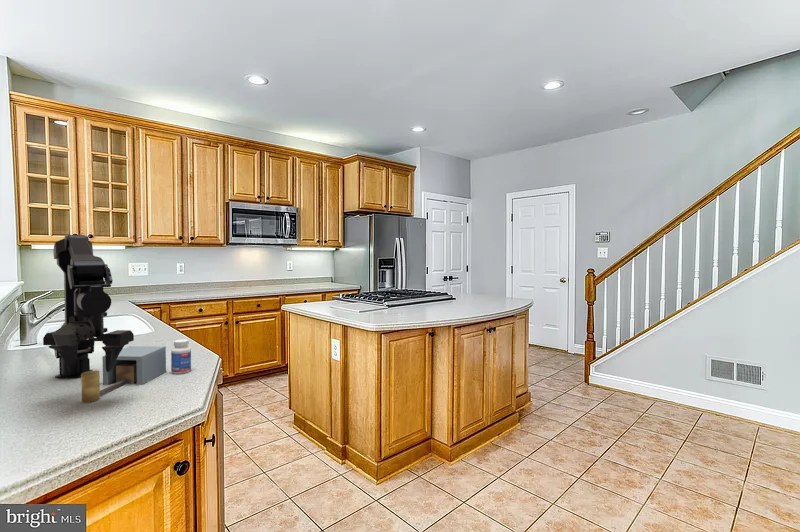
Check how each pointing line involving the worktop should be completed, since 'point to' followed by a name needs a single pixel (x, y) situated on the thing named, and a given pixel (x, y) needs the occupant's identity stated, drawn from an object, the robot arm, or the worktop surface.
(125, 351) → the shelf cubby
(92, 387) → the block
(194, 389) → the worktop surface
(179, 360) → the pill bottle
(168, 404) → the worktop surface
